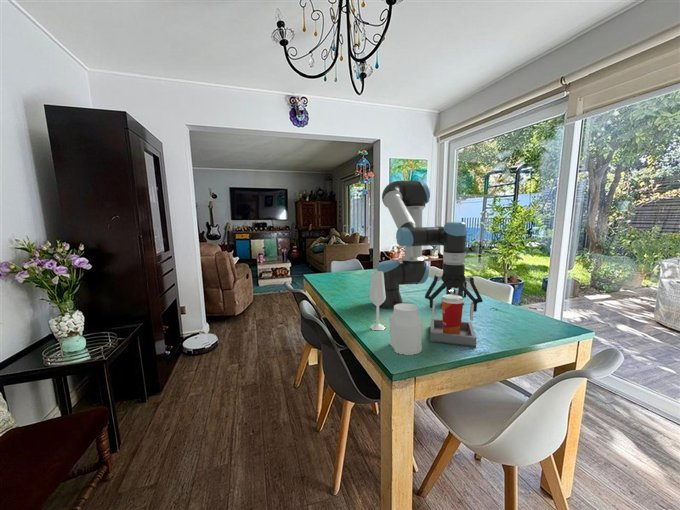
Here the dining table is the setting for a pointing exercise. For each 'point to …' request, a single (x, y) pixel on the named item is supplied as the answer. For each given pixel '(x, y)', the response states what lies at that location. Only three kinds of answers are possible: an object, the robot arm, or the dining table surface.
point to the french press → (457, 291)
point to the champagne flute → (377, 295)
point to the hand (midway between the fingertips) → (452, 317)
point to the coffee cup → (452, 313)
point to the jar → (406, 329)
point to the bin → (464, 339)
